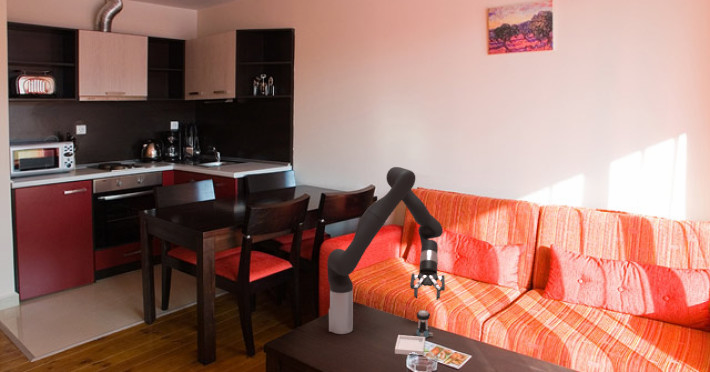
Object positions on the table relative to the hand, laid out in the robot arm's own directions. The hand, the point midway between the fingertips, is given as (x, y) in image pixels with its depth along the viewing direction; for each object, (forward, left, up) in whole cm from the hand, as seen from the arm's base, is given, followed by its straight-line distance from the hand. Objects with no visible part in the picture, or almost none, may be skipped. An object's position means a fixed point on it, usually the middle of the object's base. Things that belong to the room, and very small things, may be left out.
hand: (426, 298), depth 221 cm
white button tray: (-5, -20, -12) cm, 24 cm away
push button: (0, -9, -13) cm, 15 cm away
